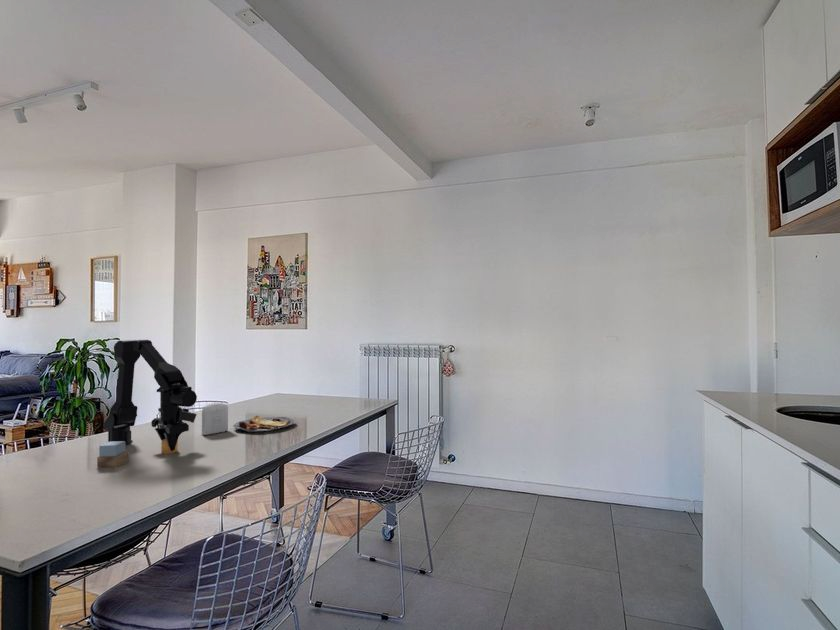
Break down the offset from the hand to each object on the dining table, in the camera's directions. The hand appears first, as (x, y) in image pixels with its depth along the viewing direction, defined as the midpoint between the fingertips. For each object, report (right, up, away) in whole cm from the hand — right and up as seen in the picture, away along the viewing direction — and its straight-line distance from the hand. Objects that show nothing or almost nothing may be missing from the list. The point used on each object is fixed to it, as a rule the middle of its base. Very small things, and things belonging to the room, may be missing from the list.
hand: (169, 449), depth 155 cm
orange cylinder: (0, -1, 0) cm, 1 cm away
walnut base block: (-11, -1, -13) cm, 17 cm away
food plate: (+21, -2, +36) cm, 42 cm away
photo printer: (+3, -2, +27) cm, 27 cm away
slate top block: (-11, +2, -13) cm, 17 cm away
